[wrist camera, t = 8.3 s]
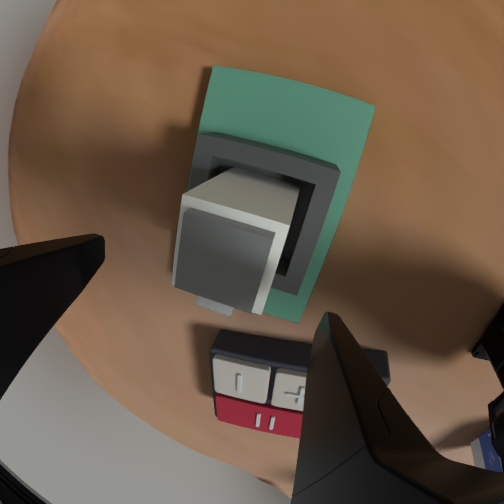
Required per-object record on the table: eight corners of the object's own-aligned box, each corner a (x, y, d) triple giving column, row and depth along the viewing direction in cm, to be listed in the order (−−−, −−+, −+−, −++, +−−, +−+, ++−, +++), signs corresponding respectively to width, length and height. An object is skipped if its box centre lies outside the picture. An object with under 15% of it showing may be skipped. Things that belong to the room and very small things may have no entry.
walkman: (506, 415, 23) (523, 477, 12) (512, 417, 23) (529, 476, 12) (468, 443, 26) (478, 504, 16) (475, 444, 26) (485, 502, 16)
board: (372, 107, 15) (387, 101, 11) (299, 315, 22) (294, 350, 18) (218, 68, 16) (194, 55, 12) (179, 276, 23) (157, 303, 19)
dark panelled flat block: (204, 353, 22) (393, 385, 18) (223, 322, 25) (388, 349, 22) (212, 422, 26) (352, 448, 23) (225, 394, 30) (354, 417, 27)
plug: (300, 185, 16) (288, 231, 9) (279, 255, 18) (254, 334, 11) (234, 167, 16) (175, 198, 10) (219, 236, 18) (164, 302, 12)
